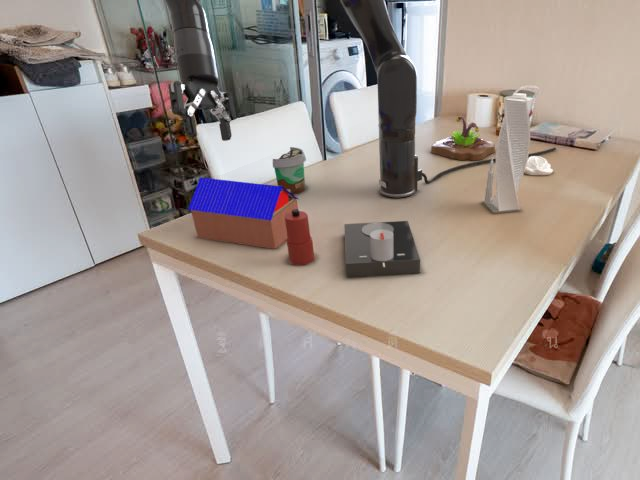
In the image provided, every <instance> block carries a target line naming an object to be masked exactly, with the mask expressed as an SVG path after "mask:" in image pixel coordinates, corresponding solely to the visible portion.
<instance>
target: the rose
mask: <svg viewBox="0 0 640 480" xmlns="http://www.w3.org/2000/svg"><path fill="white" fill-rule="evenodd" d="M553 172H554V170H553V168H551V163H548V160H547V159H546V158H545V157H542V156H539V155H535V156H529V157H528V160H527V164H526V168H525V171H524V174H525V175H529V176H548V175H551V174H552V173H553Z"/></svg>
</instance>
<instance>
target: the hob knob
mask: <svg viewBox="0 0 640 480" xmlns="http://www.w3.org/2000/svg"><path fill="white" fill-rule="evenodd" d="M370 251H371V258H372V259H373V260H376V261H388V260H390V259H392V258H393V257H394V236H393V232H391V231H389V230H383V229H381V230H375V231H373V232H371V233H370Z"/></svg>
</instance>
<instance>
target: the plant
mask: <svg viewBox="0 0 640 480" xmlns="http://www.w3.org/2000/svg"><path fill="white" fill-rule="evenodd" d="M461 120H462V125H463V126H462V130H460V132H459V131H456V130H453V132H452V134H453V135H452V134H449V137H446V138H443V139H439V140H437V141H435V143H434V144H432V145H431V149H430V153H432V154H434V155H439V156H442V157H444V158H449V159H452V160H458V161H471V162H476V161H482V160H484V159H485V158H486V156H487V157H488V156H490V155H492V154H494V153H495V148H496V145H495V143H494V142H493V141H488V140H485V139H483V138H480V137H481V134H476V135H475V132H476V133H479V131H480V128H479V127H478V126H477V123H476V122H470V123H469V124H468V125H467V122H466V120H465V118H464V117H463V116H457V117H456V118H455V121H456V122H457V123H459V122H461ZM472 128H475V129H474V131H473V130H472Z"/></svg>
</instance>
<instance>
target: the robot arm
mask: <svg viewBox="0 0 640 480" xmlns="http://www.w3.org/2000/svg"><path fill="white" fill-rule="evenodd" d="M164 2H165V4H166V7H167V9H168V12H169V20H170V24H171V31H172V36H173V47H174V53H175V59H176V64H177V69H178V75H179V80H180V81H179V80H175V81H172V82H170V83H168V85H167V87H168V93H169V94H168V95H169V100H170V110H171V113H172V115H177V116H179V117H180V118H181V119H182V123H183V127H184V132H185V135H187V138H191V139H192V138H195V137H196V138H197V136H198V131H197V126H196V121H195V117H194V115H195V112H196V111H197V110H203V111H207V112H210V113H211V115H212V116H214V117H215V118H216V119H217V120H218V122H219V123H218V125H219V131H220V136H221V137H220V138H221V140H222V141H224V142H227V141H230V140H231V139H232V129H231V122H232V121H235V120H237V118H238V117H237V112H236V107H235V103H234V97H233V94H232V92H231V91H230V90H228V91H220V89H219V87H218V85H219V73H218V69H217V62H216V58H215V57H216V56H215V51H214V45H213V43H212V39H211V36H210V35H211V34H210V28H209V24H208V18H207V13H206V10H205V8H204V7H203V5H202V4H201V3H200V1H199V0H164ZM339 2H340V5H342V9H344V11H345V13H346V15H347V16H348V18H349V20H350V21H351V23H352V24H353V26H354V28H355V29H356V31H357V32H358V33H359V35H360V37H361V39H362V41H363V43H364V44H365V46H366V48H367V51H368V54H369V56H370V59H371V61H372V64H373V67H374V70H375V73H376V78H377V82H376V83H377V119H378V147H379V148H378V153H379V179H378V185H379V193H380V194H381V195H382V196H385V197H387V198H392V199H393V198H395V199H397V198H400V199H401V198H407V197H410V196H413V194H415V193H416V192H418V185H419V184H418V182H420V181H422V180H423V181H424V183H425V184H428V185H429V184H431V183H433V182H435V181H437V179H438V178H440V177H442V176H444V175H446V174H449V173H450V172H453V171H457V170H459V169H463V168H467V167H471V166H476V165H481V164H487V163H490V161H491V160H492V158H491V159H482V160H477V161H472V162H468V163H464V164H461V165H456V166H453V167H450V168H448V169H446V170H443V171H441V172H439V173H437V174H436V175H435V176H434V177H433V178H431V180H428V177H427V174H426V173H424V172H423V169H420V168H419V156H418V155H416V120H417V119H416V117H417V109H418V108H417V107H418V105H417V104H418V73H417V68H416V66H415V65H414V63H413V61H412V60H411V59H410V57H409V55H408V54H407V52H406V51H405V49H404V47H403V45H402V43H401V41H400V40H399V38H398V36H397V33H396V32H395V29H394V27H393V25H392V22H391V18H390V16H389V15H390V14H389V12H388V8H387V5H386V1H385V0H339ZM183 95H184V96H185V97H186V98H187V99H186V100H185V102H184V97H183ZM556 150H557V148H556V147H552V148H548V149H545V150H542V151H536V152H532V153H529V155H528V158H529V157H531V156H539V155H543V154H547V153H550V152H553V151H556ZM493 161H494V162H495V163H496V158H493ZM494 162H493V163H494Z"/></svg>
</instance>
